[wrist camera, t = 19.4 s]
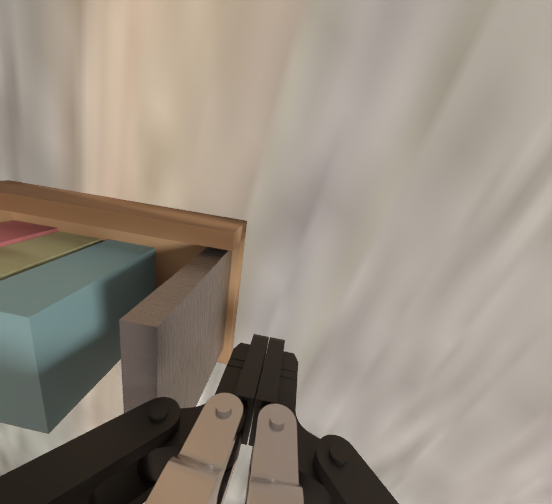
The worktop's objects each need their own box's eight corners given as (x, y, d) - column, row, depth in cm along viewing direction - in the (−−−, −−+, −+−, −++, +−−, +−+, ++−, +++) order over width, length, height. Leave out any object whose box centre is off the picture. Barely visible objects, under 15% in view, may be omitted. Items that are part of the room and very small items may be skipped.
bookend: (223, 348, 18) (157, 489, 10) (205, 345, 18) (127, 482, 11) (233, 245, 16) (157, 327, 8) (213, 242, 16) (119, 319, 8)
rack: (232, 352, 20) (162, 522, 11) (31, 312, 21) (-195, 433, 12) (246, 220, 17) (165, 296, 7) (9, 180, 18) (-331, 200, 8)
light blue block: (154, 323, 18) (48, 433, 11) (113, 314, 19) (-20, 417, 11) (155, 247, 17) (28, 317, 9) (109, 239, 17) (-52, 300, 9)
